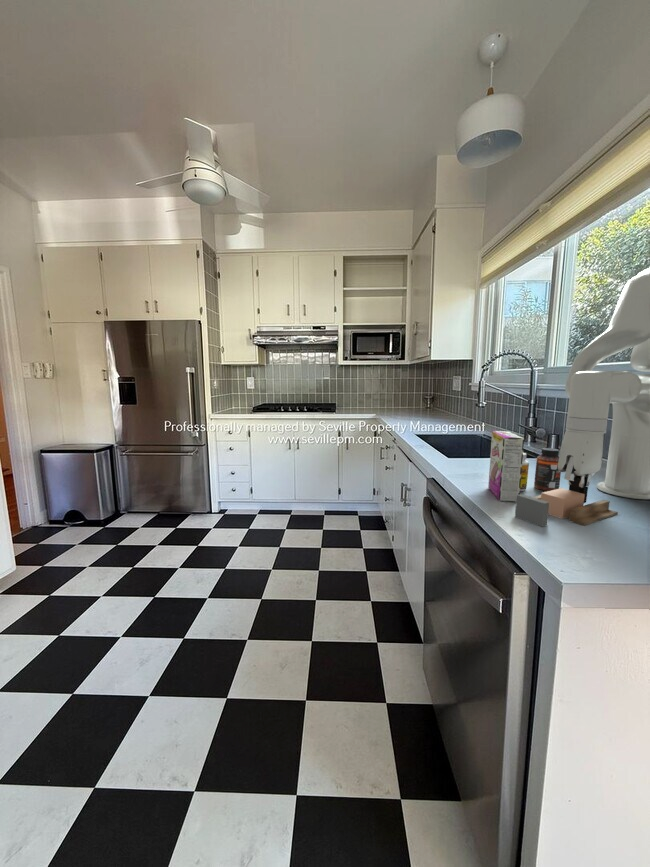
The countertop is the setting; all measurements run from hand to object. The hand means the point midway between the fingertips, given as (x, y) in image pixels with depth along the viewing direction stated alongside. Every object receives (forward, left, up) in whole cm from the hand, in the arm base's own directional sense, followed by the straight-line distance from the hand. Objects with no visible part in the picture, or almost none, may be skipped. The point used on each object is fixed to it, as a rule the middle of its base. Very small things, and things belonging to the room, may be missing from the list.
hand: (576, 501), depth 83 cm
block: (+6, 0, -2) cm, 6 cm away
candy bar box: (+7, -14, -2) cm, 16 cm away
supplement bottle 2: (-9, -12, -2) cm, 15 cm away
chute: (+3, 0, -1) cm, 4 cm away
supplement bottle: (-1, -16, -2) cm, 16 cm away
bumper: (+18, 0, -1) cm, 18 cm away
